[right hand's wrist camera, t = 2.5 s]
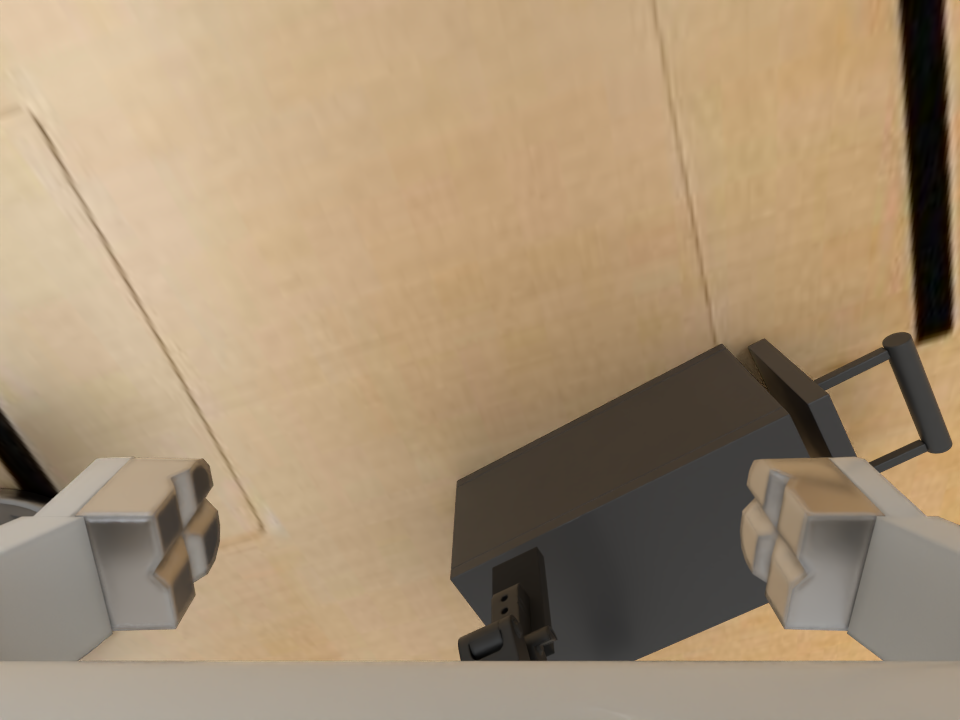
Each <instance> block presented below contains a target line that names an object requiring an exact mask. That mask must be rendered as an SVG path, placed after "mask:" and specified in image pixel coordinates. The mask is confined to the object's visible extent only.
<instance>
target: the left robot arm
mask: <svg viewBox="0 0 960 720" xmlns="http://www.w3.org/2000/svg"><path fill="white" fill-rule="evenodd" d="M51 500H52V498H49V497H47V496H44V495H40V494H37V493H33V492H28V491H23V490H15V489H0V525H2V524H5V523H7V522H10V521H12V520H15V519H17V518H19V517H27V516H34V515H35V514H36V513H37V512H39V511H40V510H41V509H42V508H43V507H44V506H45V505H46V504H47V503H48V502H49V501H51ZM491 608H492V609H491V614H492V615H491V624H489V625H487V626H485V627H482V628H480V629H478V630H476V631H474V632H472V633H469V634H467V635H465V636H463V637H461V638H460V639H459V640H458V648H459V654H460V659H461V661H548V660H547V658H546V657H547V656H550V655H552V654H554V653H555V651H554V641H557V640H558V639H557V636H556V634H555V632H554V631H553V629H552V624H551V616H550V607H549V598H548V589H547V580H546V571H545V562H544V556H543V555H542V553H541V552H540V550H539V549H538V547H535V548H533V549H531V550H528V551H526V552H524V553H522V554H520V555H518V556H516V557H514V558H512V559H510V560H507V561H505V562H503V563H501V564H499V565H497V566H495V567H493V568H492V599H491ZM101 643H102V642H101ZM98 645H99V644H98ZM98 645H97V646H98ZM97 646H96V647H97ZM96 647H94V648H96ZM94 648H93V649H94ZM93 649H92V650H93ZM92 650H90V651H89V652H91V651H92ZM89 652H88V653H89ZM88 653H86V654H85V655H87V654H88ZM85 655H84V656H85ZM84 656H82V657H81V658H83V657H84ZM81 658H80V659H81ZM80 659H78V660H77V661H79V660H80Z"/></svg>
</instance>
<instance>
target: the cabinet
mask: <svg viewBox="0 0 960 720" xmlns="http://www.w3.org/2000/svg"><path fill="white" fill-rule="evenodd" d="M785 458H810V456H809V454H808V452H807V450H806V448H805V445H804V443H803V441H802V439H801V437H800V435H799V433H798V431H797V429H796V427H795V424H794V422H793V420H792V418H791V416H790V414H789V413H788V412H787V411H786V410H785V409H784V408H783V407H782V406H781V405H780V404H779V403H778V402H777V401H776V400H775V399H774V398H773V397H772V395H771V394H770V393H769V392H768V391H767V390H766V389H765V388H764V387H763V386H762V385H761V384H760V383H759V382H758V381H757V380H756V379H755V378H754V377H753V376H752V375H751V373H750V372H749V371H748V370H747V369H746V368H745V367H744V366H743V365H742V364H741V363H740V362H739V361H738V360H737V359H736V358H735V357H734V356H733V355H732V354H731V353H730V352H729V350H728V349H726V347H725V346H724V345H723V344H720V345H718V346H717V347H715V348H713V349H711V350H709V351H707V352H705V353H703V354H701V355H699V356H697V357H695V358H693V359H691V360H690V361H688V362H686V363H684V364H682V365H680V366H678V367H676V368H674V369H672V370H670V371H668V372H666V373H665V374H663V375H661V376H659V377H657V378H655V379H653V380H651V381H649V382H647V383H645V384H643V385H641V386H640V387H638V388H636V389H634V390H632V391H630V392H628V393H626V394H624V395H622V396H620V397H618V398H616V399H614V400H613V401H611V402H609V403H607V404H605V405H603V406H601V407H599V408H597V409H595V410H593V411H591V412H589V413H588V414H586V415H584V416H582V417H580V418H578V419H576V420H574V421H572V422H570V423H568V424H566V425H564V426H563V427H561V428H559V429H557V430H555V431H553V432H551V433H549V434H547V435H545V436H543V437H541V438H539V439H537V440H536V441H534V442H532V443H530V444H528V445H526V446H524V447H522V448H520V449H518V450H516V451H514V452H512V453H511V454H509V455H507V456H505V457H503V458H501V459H499V460H497V461H495V462H493V463H491V464H489V465H487V466H486V467H484V468H482V469H480V470H478V471H476V472H474V473H472V474H470V475H468V476H466V477H464V478H462V479H460V480H459V481H457V488H456V502H455V517H454V532H453V548H452V563H451V576H450V580H451V581H452V582H453V584H454V585H455V586H456V588H457V589H458V590H459V591H460V593H461V594H462V595H463V597H464V598H465V599H466V601H467V602H468V603H469V605H470V606H471V607H472V608H473V610H474V611H475V612H476V614H477V615H478V616H479V618H480V619H481V620H482V622H483V623H484V624H485V625H486V626H487V625H489V624H491V615H492V614H491V609H492V608H491V599H492V568H493V567H495V566H497V565H499V564H501V563H503V562H505V561H507V560H510V559H512V558H514V557H516V556H518V555H520V554H522V553H524V552H526V551H528V550H531V549H533V548H535V547H538V549H539V550H540V552H541V553H542V555H543V556H544V562H545V571H546V580H547V589H548V598H549V607H550V616H551V624H552V629H553V631H554V632H555V634H556V636H557V639H558V640H557V641H554V651H555V653H554V654H552V655H550V656H547V657H546V658H547V660H548V661H635V660H637V659H639V658H642V657H644V656H646V655H649V654H651V653H653V652H656V651H658V650H660V649H663V648H665V647H667V646H670V645H672V644H674V643H676V642H679V641H681V640H683V639H686V638H688V637H690V636H693V635H695V634H697V633H700V632H702V631H704V630H707V629H709V628H711V627H714V626H716V625H718V624H720V623H723V622H725V621H727V620H730V619H732V618H734V617H737V616H739V615H741V614H744V613H746V612H748V611H751V610H753V609H755V608H757V607H760V606H762V605H764V604H767V603H769V602H768V600H767V598H766V597H765V590H766V584H767V583H766V582H765V581H763V580H761V579H760V578H758V577H757V576H755V575H753V574H752V572H751V571H750V569H749V567H748V565H747V563H746V561H745V558H744V555H743V552H742V549H741V538H740V525H741V517H742V511H743V510H744V509H745V508H746V507H747V506H748V504H749V503H750V502H751V501H752V500H753V499H754V498H755V497H754V496H753V494H752V493H751V491H750V490H749V488H748V487H747V480H748V475H749V470H750V468H751V466H752V463H753V461H754V460H759V459H785Z"/></svg>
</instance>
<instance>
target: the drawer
mask: <svg viewBox="0 0 960 720" xmlns="http://www.w3.org/2000/svg"><path fill="white" fill-rule="evenodd" d="M882 344H883V347H884V348H883V347H881V348H879V349H877V350H875V351H873V352H871V353H869V354H867V355H865V356H863V357H861V358H859V359H857V360H855V361H853V362H851V363H849V364H847V365H845V366H843V367H841V368H839V369H837V370H835V371H833V372H831V373H829V374H826V375H824V376H822V377H820V378H818V379H816V380H814V381H813V380H812V379H811V378H809V377H808V376H807V375H806V374H805V373H804V372H803V371H801V370H800V369H799V368H798V367H797V366H796V365H794V364H793V363H792V362H791V361H790V360H789V359H788V358H786V357H785V356H784V355H783V354H782V353H781V352H780V351H778V350H777V349H776V348H775V347H774V346H773V345H771V344H770V343H769V342H768V341H767V340H766V339H762V340H760V341H758V342H756V343H754V344H752V345H750V346H748V349H749V351H750V353H751V355H752V357H753V359H754V361H755V363H756V365H757V367H758V370H759V372H760V374H761V376H762V378H763V380H764V382H765V384H766V386H767V388H768V390H769V392H770V394H771V395H772V397H773V398H774V399H775V400H776V401H777V402H778V403H779V404H780V405H781V406H782V407H783V408H784V409H785V410H786V411H787V412H788V413H789V414H790V416H791V418H792V420H793V422H794V424H795V427H796V429H797V431H798V433H799V435H800V437H801V439H802V441H803V443H804V445H805V448H806V450H807V452H808V454H809V456H810V458H826V457H828V458H836V457H857V456H856V454H855V452H854V449H853V447H852V445H851V443H850V440H849V438H848V436H847V434H846V431H845V429H844V427H843V425H842V423H841V420H840V418H839V416H838V414H837V411H836V409H835V407H834V405H833V402H832V400H831V398H830V396H829V394H828V393H827V392H826V391H825V390H827V389H829V388H831V387H833V386H835V385H837V384H839V383H841V382H843V381H845V380H847V379H849V378H852V377H854V376H856V375H858V374H860V373H862V372H864V371H866V370H868V369H870V368H872V367H874V366H876V365H878V364H880V363H882V362H884V361H886V360H888V359H889V362H890V364H891V367H892V369H893V372H894V374H895V377H896V379H897V382H898V384H899V387H900V389H901V392H902V394H903V397H904V399H905V401H906V404H907V406H908V409H909V411H910V414H911V416H912V419H913V421H914V424H915V426H916V429H917V431H918V434H919V436H920V439H921V440H917V441H915V442H913V443H911V444H908V445H906V446H904V447H902V448H900V449H898V450H895V451H893V452H891V453H889V454H887V455H884V456H882V457H880V458H878V459H876V460H874V461H871V462H869V464H870V465H871V466H873V467H874V468H875V469H876V470H877V471H878V472H879V473H881V472H883V471H885V470H887V469H890V468H892V467H894V466H896V465H898V464H901V463H903V462H905V461H907V460H909V459H911V458H914V457H916V456H918V455H920V454H922V453H925V452H927V451H928V452H930V453H943V452H946V451H948V450H949V449H950V448H951V447H952V441H951V438H950V435H949V433H948V430H947V428H946V425H945V422H944V420H943V417H942V415H941V412H940V409H939V407H938V404H937V402H936V399H935V396H934V394H933V391H932V389H931V386H930V383H929V381H928V378H927V376H926V373H925V370H924V368H923V365H922V363H921V360H920V357H919V355H918V352H917V350H916V347H915V344H914V342H913V339H912V337H911V335H910V334H909V333H905V332H899V333H894V334H891V335H889V336H887V337H886V338H885V339H884V340H883V342H882Z"/></svg>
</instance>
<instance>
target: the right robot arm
mask: <svg viewBox="0 0 960 720" xmlns="http://www.w3.org/2000/svg"><path fill="white" fill-rule="evenodd" d="M212 487H213V481H212V476H211V471H210V466H209V465H208V464H207V462H206V461H205V460H204V459H191V458H135V457H107V458H97V459H95V460H94V461H93V462H92V463H91V464H90V465H89V466H88V467H87V468H86V469H84V470H83V471H82V472H81V473H80V474H79V475H78V476H77V477H76V478H75V479H74V480H72V481H71V482H70V483H69V484H68V485H67V486H66V487H65V488H64V489H63V490H62V491H60V492H59V493H58V494H57V495H56V496H55V497H54V498H53V499H52V500H51V501H49V502H48V503H47V504H46V505H45V506H44V507H43V508H42V509H41V510H40V511H39V512H37V513H36V514H35V515H34V516H27V517H19V518H17V519H15V520H12V521H10V522H7V523H5V524H2V525H0V720H960V525H958V524H955V523H953V522H950V521H948V520H945V519H943V518H941V517H933V516H926V515H925V514H924V513H923V512H922V511H920V510H919V509H918V508H917V507H916V506H915V505H914V504H913V503H912V502H911V501H910V500H908V499H907V498H906V497H905V496H904V495H903V494H902V493H901V492H900V491H899V490H898V489H896V488H895V487H894V486H893V485H892V484H891V483H890V482H889V481H888V480H887V479H886V478H884V477H883V476H882V475H881V474H880V473H879V472H878V471H877V470H876V469H875V468H874V467H873V466H871V465H870V464H869V463H868V462H867V461H866V460H865V459H862V458H858V457H836V458H828V457H826V458H785V459H759V460H754V461H753V463H752V466H751V468H750V470H749V475H748V480H747V487H748V488H749V490H750V491H751V493H752V494H753V496H754V497H755V498H754V499H753V500H752V501H751V502H750V503H749V504H748V506H747V507H746V508H745V509H744V510H743V511H742V517H741V525H740V538H741V549H742V552H743V555H744V558H745V561H746V563H747V565H748V567H749V569H750V571H751V572H752V574H753V575H755V576H757V577H758V578H760V579H761V580H763V581H765V582H766V583H767V584H766V590H765V597H766V598H767V600H768V602H769V604H770V605H771V607H772V609H773V610H774V612H775V614H776V615H777V617H778V619H779V621H780V622H781V624H782V626H783V627H784V629H801V630H838V631H848V632H847V634H849V635H850V636H851V637H853V638H854V639H855V640H856V641H858V642H859V643H860V644H862V645H863V646H864V647H866V648H867V649H868V650H870V651H871V652H872V653H874V654H875V655H876V656H878V657H879V658H880V659H882V660H883V661H77V660H78V659H80V658H81V657H82V656H84V655H85V654H86V653H88V652H89V651H90V650H92V649H93V648H94V647H96V646H97V645H98V644H100V643H101V642H102V641H104V640H105V639H106V638H108V637H109V636H110V635H112V634H113V632H112V631H122V630H157V629H176V628H177V626H178V624H179V622H180V621H181V619H182V617H183V616H184V614H185V612H186V610H187V609H188V607H189V605H190V604H191V602H192V600H193V598H194V597H195V590H194V584H193V583H194V582H195V581H197V580H199V579H200V578H202V577H203V576H205V575H207V574H208V572H209V571H210V569H211V567H212V565H213V563H214V561H215V559H216V555H217V550H218V546H219V542H220V523H219V516H218V511H217V510H216V509H215V508H214V507H213V506H212V504H211V503H210V502H209V501H208V500H207V499H206V498H205V497H206V496H207V494H208V493H209V491H210V490H211V488H212Z"/></svg>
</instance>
